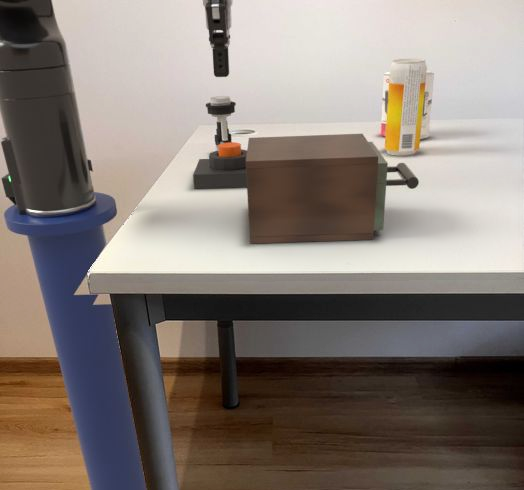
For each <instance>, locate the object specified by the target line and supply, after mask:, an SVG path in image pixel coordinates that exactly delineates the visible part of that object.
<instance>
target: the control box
mask: <svg viewBox="0 0 524 490" xmlns="http://www.w3.org/2000/svg"><path fill="white" fill-rule="evenodd" d="M246 156H247V149H242V148H241V155H240V156H234V157H221V156H219V154H218V151H215V150H214V151H212V152H210V153H209V154H208V158H199V159H198V161H197V164H196V166H195V168H194V172H193V173H192V176H193V177H192V178H193V189H194V190H201V189H202V190H203V189H205V190H206V189H229V188H230V189H231V188H232V189H233V188H247V176H246Z"/></svg>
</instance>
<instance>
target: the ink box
mask: <svg viewBox="0 0 524 490" xmlns="http://www.w3.org/2000/svg"><path fill="white" fill-rule="evenodd" d="M389 75H390V71H387V72H384V73H383V77H382V79H383V81H382V98H381V99H382V100H381V117H380V118H381V121H380V122H381V123H380V136H381V137H385V134H386V119H387V105H388V90H389ZM434 79H435V73H434V72H433V71H431V70H429V71H428V70H427V73H426V83H425V93H424V104H423V114H422V124H421V135H420V140H424V139H428V138H429V134H430V123H431V111H432V101H433V90H434Z"/></svg>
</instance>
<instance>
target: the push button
mask: <svg viewBox="0 0 524 490" xmlns="http://www.w3.org/2000/svg"><path fill="white" fill-rule="evenodd" d="M209 99H210V101H209V102H207V103H205V107H206V110H207V114H208V115H211V117H212V118H216V129H215V130H216V134H214V144H215V147H214V149H215V150H214V152H215V151H218V145H219V144H222V143H228V142H233V141H232V134H231V133H230V129H229V128H228V127H229V126H228V120H227V118H228V117H230V116H232V114H233V113H236V109H235V108H236V107H235V106H237V103H236V102H235V101H232V100H231V96H228V95H219V96H212V97H210V98H209Z"/></svg>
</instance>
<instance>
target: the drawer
mask: <svg viewBox="0 0 524 490" xmlns="http://www.w3.org/2000/svg"><path fill="white" fill-rule="evenodd" d="M368 142H369V144H370V145H371V147H372V148H373V150H374V151H375V153H376V154H377V155H378V171H377V187H376V203H375V219H374V231H383V230H384V224H385V223H384V222H385V209H386V208H385V206H386V196H387V195H386V194H387V187H394V186H395V187H397V186H407V188H408V189H411V190H414V189H416V188H417V187H418V186H419V183H420V181H419V179H418V177H417V176H416V175H415V174H414V172H413V171H412V170H411V169H410V167H409V166H408V165H407V164H406V163H405V162H399V163H397V165H396V166H395V165H394V166H388V165H389V164H388V161H387V160H386V159H385V157H384V156H383V155H382V153H381V152H380V150H379V149H378V148H377V146H376V145H375V144H374V142H373V141H368ZM388 173H397V175H398V176H399V177H400V178H399V179H395V178H394V179H388Z"/></svg>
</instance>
